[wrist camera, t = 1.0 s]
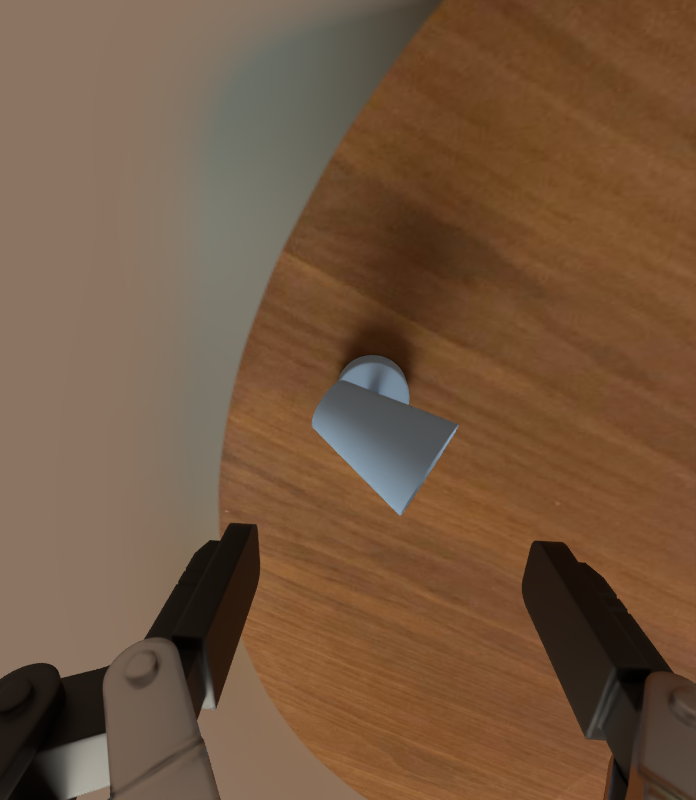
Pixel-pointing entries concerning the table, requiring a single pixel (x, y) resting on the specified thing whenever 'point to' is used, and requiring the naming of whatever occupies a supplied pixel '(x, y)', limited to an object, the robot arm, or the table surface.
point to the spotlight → (382, 429)
